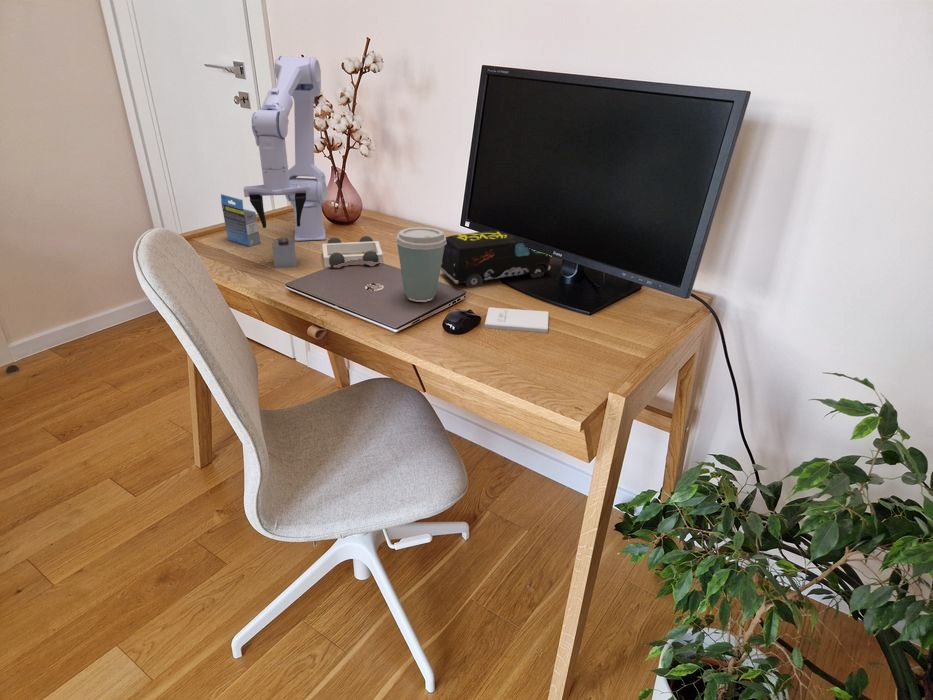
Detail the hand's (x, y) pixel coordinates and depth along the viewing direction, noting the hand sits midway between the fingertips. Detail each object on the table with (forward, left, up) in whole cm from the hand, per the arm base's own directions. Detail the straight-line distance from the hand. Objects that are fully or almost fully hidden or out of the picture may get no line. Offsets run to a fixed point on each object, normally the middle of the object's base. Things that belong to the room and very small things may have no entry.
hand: (281, 225), depth 147 cm
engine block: (0, 0, -10) cm, 10 cm away
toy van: (+15, +48, -10) cm, 51 cm away
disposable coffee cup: (+25, +29, -10) cm, 39 cm away
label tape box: (-18, -11, -10) cm, 23 cm away
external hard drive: (+40, +46, -10) cm, 62 cm away
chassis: (-1, +16, -9) cm, 18 cm away
